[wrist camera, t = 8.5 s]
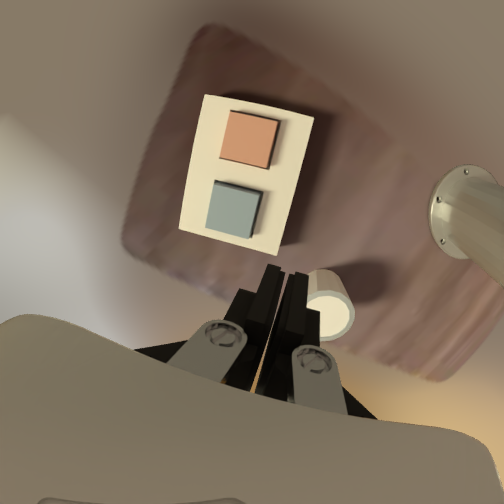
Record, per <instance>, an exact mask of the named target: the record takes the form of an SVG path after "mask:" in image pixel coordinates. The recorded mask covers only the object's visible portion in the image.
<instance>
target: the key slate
mask: <svg viewBox="0 0 504 504" xmlns="http://www.w3.org/2000/svg"><path fill="white" fill-rule="evenodd" d="M260 196H261V192H260V191H256V190H252V189H248V188H244V187H241V186H236V185H232V184H228V183H224V182H220V181H219V182H217V183H215V184H213V189H212V194H211V199H210V204H209V209H208V214H207V219H206V225H205V228H208V229H212V230H215V231H219V232H223V233H227V234H230V235H234V236H238V237H241V238H245V239H249V237H250V235H251V233H252V229H253V225H254V221H255V217H256V213H257V209H258V204H259V200H260Z"/></svg>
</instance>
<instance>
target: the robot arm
mask: <svg viewBox="0 0 504 504" xmlns="http://www.w3.org/2000/svg"><path fill="white" fill-rule="evenodd" d="M437 197H438V199H437V200H436V198H437ZM428 219H429V227H430V230H431V234H432V236H433V238H434V240H435V242H436V243H437V245H438V246H439V247H440V248H441V249H442V250H443V251H444V252H445V253H446V254H448V255H449V256H451V257H454V258H456V259H471V260H472V261H474V262H475V263H476V264H477V265H478V266H479V267H480V268H482V269H483V270H484V271H485V272H486V273H487V274H488V275H489V276H490V277H491V278H493V279H494V280H495V281H496V282H497V283H498V284H499V285H500V286H501V287H502V288H503V289H504V187H502V186H500V185H498V183H497V181H496V180H495V178H494V177H493V176H492V175H491V174H490V173H489V172H488V171H486V170H485V169H484V168H481V167H479V166H475V165H468V164H467V165H465V164H464V165H460V166H456V167H454V168H452V169H451V170H449V171H448V172H447V173H446V174H444V175H443V177H442V178H441V179H440V180H439V181H438V183H437V185H436V187H435V188H434V191H433V193H432V196H431V199H430V204H429V213H428ZM441 239H442V240H441ZM440 240H441V241H440ZM280 270H281V267H278V266H275V265H271V264H268V265H267V267H266V270H265V273H264V275H263V278H262V280H261V283H260V285H259V288H258V290H257V293H254V292H250V291H247V290H244V289H239V290H238V292H237V294H236V296H235V298H234V300H233V302H232V304H231V306H230V308H229V310H228V311H227V314H226V315H225V317H224V319H223V320H212V321H208V322H206V323H205V324H203V325H202V326H201V327H200V328H199V329H198V330H197V332H196V333H195V334H194V335H193V336H192V337H191V338H190V339H189V340H186V341H181V342H175V343H170V344H164V345H159V346H153V347H147V348H140V349H135V350H132V349H129V348H127V347H125V346H123V345H120V344H118V343H116V342H114V341H111V340H109V339H107V338H104V337H102V336H100V335H98V334H96V333H93V332H91V331H89V330H87V329H85V328H83V327H80V326H77V325H75V324H72V323H70V322H67V321H63V320H60V319H57V318H53V317H48V316H43V315H34V314H24V315H19V316H16V317H13V318H11V319H9V320H7V321H5V322H3V323H2V324H0V504H504V492H503V487H502V483H501V480H500V477H499V474H498V471H497V468H496V465H495V462H494V460H493V458H492V456H491V454H490V452H489V450H488V449H487V447H486V446H485V445H484V444H482V443H481V442H480V441H479V440H477V439H475V438H473V437H471V436H469V435H466V434H464V433H461V432H458V431H454V430H450V429H445V428H440V427H432V426H423V425H415V424H407V423H398V422H390V421H382V420H378V419H377V418H376V417H375V416H374V415H372V414H371V413H370V412H369V411H368V410H367V409H366V408H365V407H364V406H363V405H362V404H361V403H359V402H358V401H357V400H356V399H355V398H354V397H353V396H352V395H351V394H350V393H349V392H348V391H347V390H346V389H345V388H343V387H342V385H341V381H340V376H339V372H338V367H337V363H336V361H335V359H334V357H333V356H332V355H331V354H330V353H328V352H327V351H326V350H324V349H322V348H320V311H317V310H313V309H310V308H307V297H308V284H309V275H306V274H303V273H299V272H295V275H293V274H289V277H288V280H287V283H286V287H285V290H284V293H283V296H282V299H281V302H280V306H279V309H278V312H277V315H276V318H275V321H274V324H273V320H274V317H275V313H276V309H277V305H278V301H279V297H280V293H281V289H282V285H283V280H284V276H285V272H282V271H280ZM272 324H273V327H272ZM271 327H272V331H271ZM270 331H271V334H270ZM269 334H270V338H269V341H268V346H267V349H266V353H265V356H264V360H263V364H262V368H261V371H260V375H259V378H258V382H257V386H256V389H255V394H254V393H251V392H250V390H251V387H252V384H253V381H254V378H255V376H256V372H257V369H258V367H259V364H260V361H261V358H262V355H263V352H264V349H265V346H266V343H267V340H268V337H269ZM247 391H248V392H247Z"/></svg>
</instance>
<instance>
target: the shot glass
mask: <svg viewBox="0 0 504 504" xmlns="http://www.w3.org/2000/svg"><path fill="white" fill-rule="evenodd" d="M308 275H309V284H308V297H307V308H310V309H313V310H317V311H320V341H330V340H333V339H336V338H338V337H340V336H342V335H343V334H345V333H346V332H347V331H348V330H349V329H350V327H351V325H352V323H353V321H354V316H355V309H354V307H353V305H352V303H351V300H350V298H349V296H348V294H347V292H346V290H345V288H344V286H343V283H342V281H341V280H340V278H339V276H338V275H337V274H335V273H334V272H333V271H330V270H326V269H320V270H315V271H313V272H311V273H309V274H308Z"/></svg>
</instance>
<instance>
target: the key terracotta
mask: <svg viewBox="0 0 504 504" xmlns="http://www.w3.org/2000/svg"><path fill="white" fill-rule="evenodd" d="M278 125H279V123H278V122H276V121H272V120H268V119H264V118H259V117H255V116H250V115H245V114H240V113H235V112H230V113H229V117H228V122H227V126H226V130H225V135H224V139H223V143H222V148H221V152H220V157H221V158H226V159H230V160H235V161H239V162H243V163H247V164H251V165H255V166H260V167H263V168H267V167H268V165H269V161H270V157H271V153H272V149H273V145H274V141H275V137H276V133H277V129H278Z"/></svg>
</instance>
